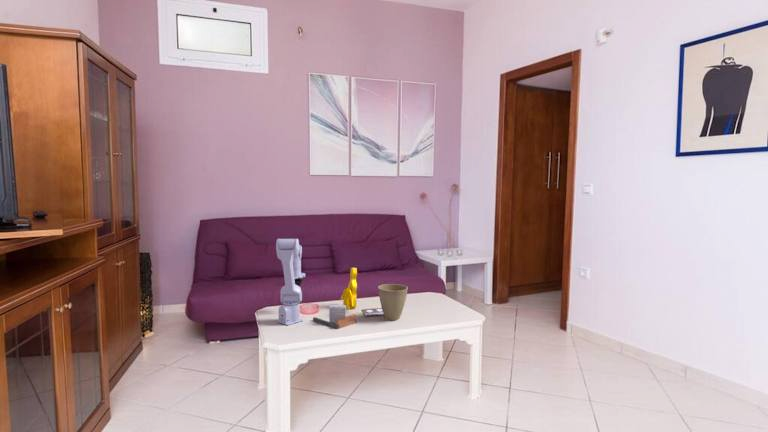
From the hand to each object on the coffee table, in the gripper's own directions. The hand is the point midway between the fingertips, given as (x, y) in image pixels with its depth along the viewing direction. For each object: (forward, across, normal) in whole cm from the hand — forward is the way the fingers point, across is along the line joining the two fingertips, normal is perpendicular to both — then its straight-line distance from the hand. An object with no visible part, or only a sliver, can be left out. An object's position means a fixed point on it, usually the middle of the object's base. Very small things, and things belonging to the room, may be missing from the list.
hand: (295, 293), depth 228 cm
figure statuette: (+11, +21, -21) cm, 31 cm away
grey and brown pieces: (+10, -4, -26) cm, 29 cm away
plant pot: (+10, +15, -49) cm, 53 cm away
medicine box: (+10, -5, -29) cm, 31 cm away
